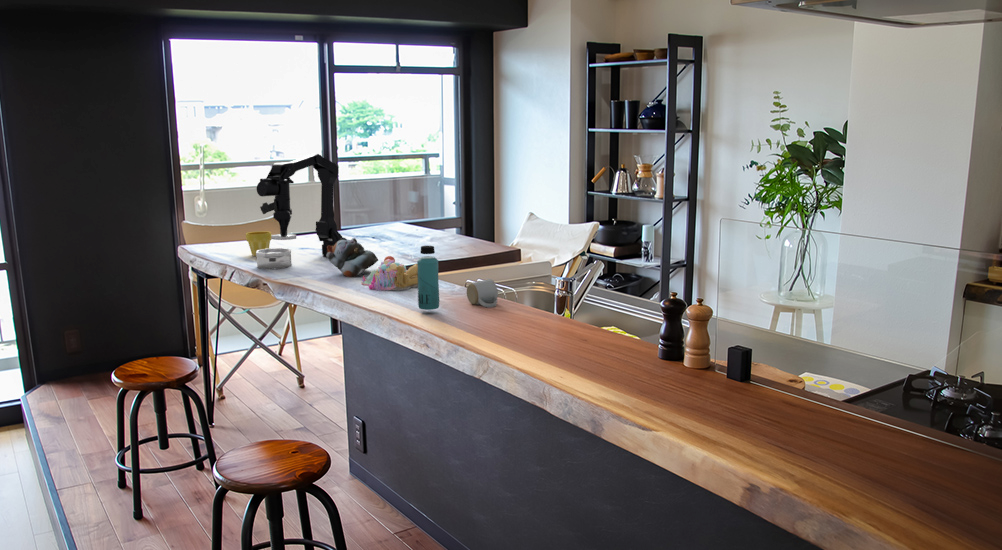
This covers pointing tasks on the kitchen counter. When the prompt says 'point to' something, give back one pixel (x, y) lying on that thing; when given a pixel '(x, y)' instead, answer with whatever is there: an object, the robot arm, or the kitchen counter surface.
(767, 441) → the kitchen counter surface
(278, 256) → the pot
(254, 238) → the plant pot
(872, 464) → the kitchen counter surface
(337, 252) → the grey teddy bear
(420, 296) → the beverage bottle
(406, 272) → the pastel plush toy
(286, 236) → the lid
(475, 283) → the ceramic mug
